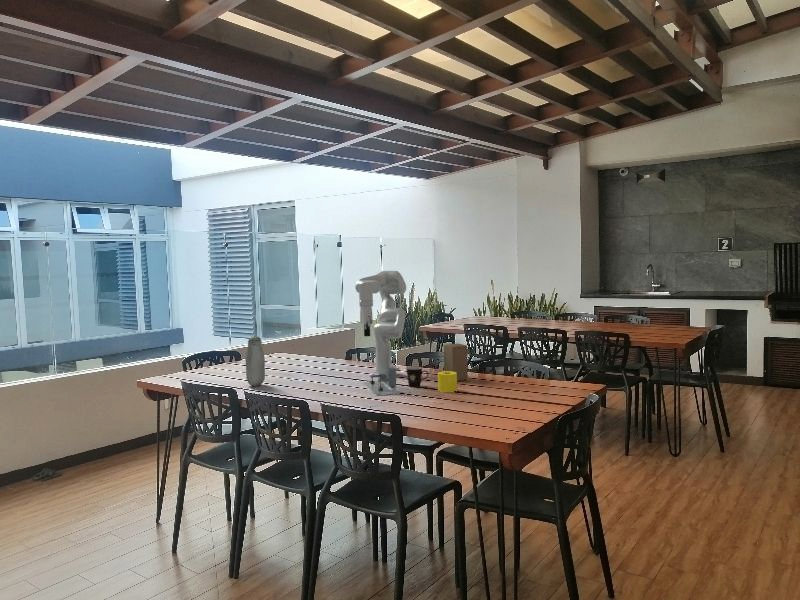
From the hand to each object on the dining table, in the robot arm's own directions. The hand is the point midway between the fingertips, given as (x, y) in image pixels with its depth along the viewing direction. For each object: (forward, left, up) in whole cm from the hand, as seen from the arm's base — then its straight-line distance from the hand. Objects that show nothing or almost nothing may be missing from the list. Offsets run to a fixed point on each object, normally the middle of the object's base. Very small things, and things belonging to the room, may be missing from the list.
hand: (367, 336), depth 341 cm
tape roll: (-35, +33, -27) cm, 55 cm away
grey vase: (+61, -18, -27) cm, 69 cm away
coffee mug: (-23, +17, -27) cm, 39 cm away
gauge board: (-3, +16, -27) cm, 31 cm away
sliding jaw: (-4, +25, -24) cm, 35 cm away
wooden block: (-50, +7, -27) cm, 58 cm away
